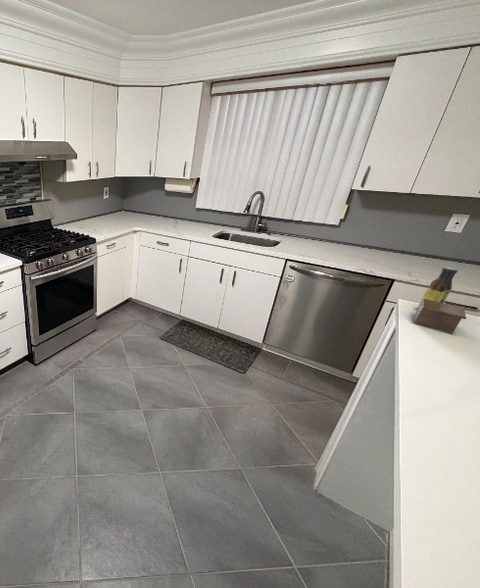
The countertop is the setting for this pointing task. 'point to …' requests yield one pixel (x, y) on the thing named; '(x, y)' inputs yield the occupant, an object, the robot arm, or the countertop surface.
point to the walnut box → (436, 320)
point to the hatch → (444, 308)
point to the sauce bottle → (440, 286)
